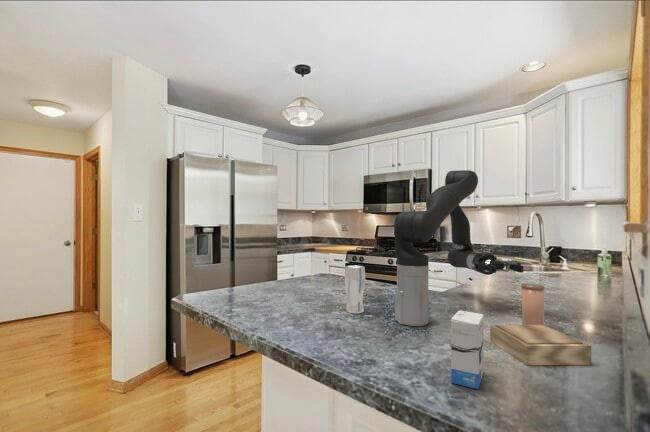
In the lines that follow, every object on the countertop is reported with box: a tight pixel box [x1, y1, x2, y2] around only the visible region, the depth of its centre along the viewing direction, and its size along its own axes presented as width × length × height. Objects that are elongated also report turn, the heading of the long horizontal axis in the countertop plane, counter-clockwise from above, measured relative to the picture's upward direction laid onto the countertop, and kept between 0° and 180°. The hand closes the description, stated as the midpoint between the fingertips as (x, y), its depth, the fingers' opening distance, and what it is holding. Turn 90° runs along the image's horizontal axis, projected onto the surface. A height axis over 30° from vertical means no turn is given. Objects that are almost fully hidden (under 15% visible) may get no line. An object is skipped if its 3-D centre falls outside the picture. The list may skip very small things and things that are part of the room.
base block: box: [489, 324, 592, 366], centre depth 75 cm, size 14×14×4 cm
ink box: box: [450, 310, 485, 390], centre depth 62 cm, size 8×5×12 cm, turn 148°
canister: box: [521, 282, 546, 325], centre depth 89 cm, size 5×5×13 cm
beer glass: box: [344, 264, 366, 315], centre depth 109 cm, size 7×7×15 cm
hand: (508, 269), depth 101 cm, fingers open, 8 cm apart
